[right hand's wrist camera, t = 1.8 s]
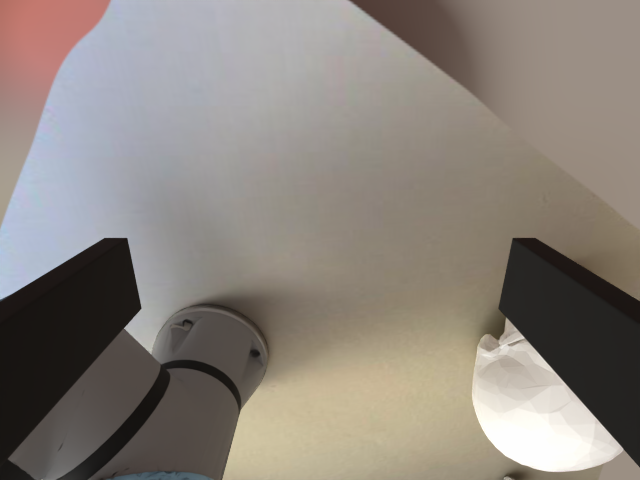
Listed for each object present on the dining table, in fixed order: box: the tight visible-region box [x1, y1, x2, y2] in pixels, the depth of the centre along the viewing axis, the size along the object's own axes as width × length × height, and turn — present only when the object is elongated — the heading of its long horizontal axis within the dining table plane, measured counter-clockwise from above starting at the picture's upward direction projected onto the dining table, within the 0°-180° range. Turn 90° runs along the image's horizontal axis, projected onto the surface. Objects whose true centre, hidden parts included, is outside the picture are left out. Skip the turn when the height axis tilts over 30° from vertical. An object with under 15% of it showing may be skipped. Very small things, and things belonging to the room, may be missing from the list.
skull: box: [472, 317, 624, 472], centre depth 40 cm, size 13×22×16 cm, turn 161°
